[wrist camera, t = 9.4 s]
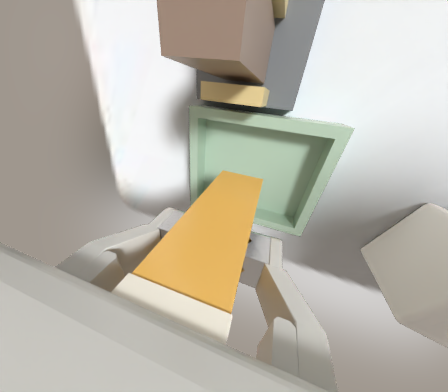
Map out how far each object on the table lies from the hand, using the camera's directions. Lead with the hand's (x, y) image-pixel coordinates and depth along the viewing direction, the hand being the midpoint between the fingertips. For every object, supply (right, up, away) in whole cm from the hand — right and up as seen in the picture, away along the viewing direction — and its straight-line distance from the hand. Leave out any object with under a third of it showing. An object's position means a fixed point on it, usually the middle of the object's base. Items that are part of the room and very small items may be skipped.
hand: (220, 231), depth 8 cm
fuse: (+1, +2, +4) cm, 5 cm away
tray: (+3, +5, +8) cm, 10 cm away
